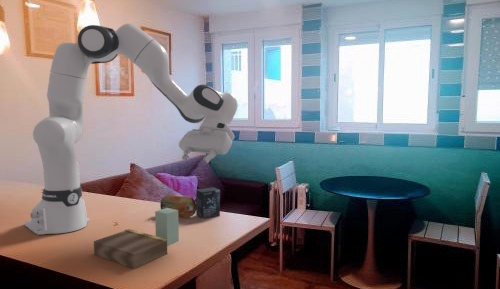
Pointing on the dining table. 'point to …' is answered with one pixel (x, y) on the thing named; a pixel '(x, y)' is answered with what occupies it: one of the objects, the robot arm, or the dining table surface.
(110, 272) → the dining table surface
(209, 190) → the box
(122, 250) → the block
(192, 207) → the tin
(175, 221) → the block
